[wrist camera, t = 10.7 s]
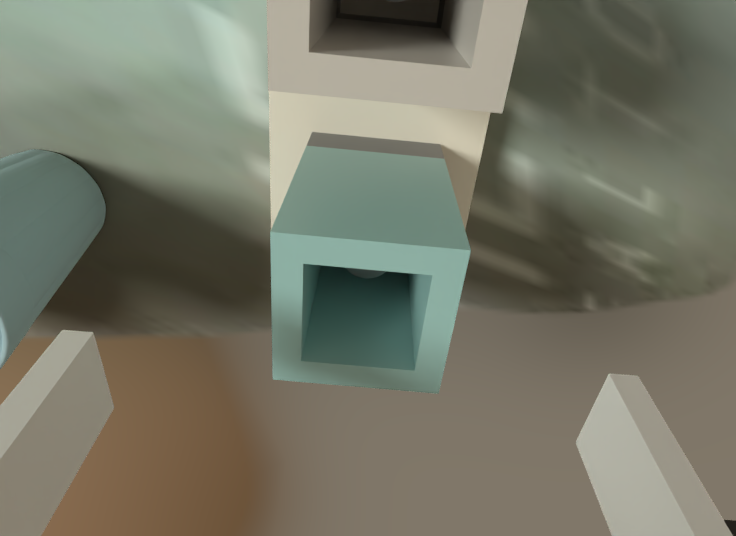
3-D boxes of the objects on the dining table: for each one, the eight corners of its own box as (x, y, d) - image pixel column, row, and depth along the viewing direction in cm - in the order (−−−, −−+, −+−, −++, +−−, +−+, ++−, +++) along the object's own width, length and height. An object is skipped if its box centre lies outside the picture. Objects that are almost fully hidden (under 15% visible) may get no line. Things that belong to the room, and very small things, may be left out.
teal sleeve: (312, 131, 23) (270, 232, 15) (440, 144, 24) (471, 250, 15) (308, 243, 27) (272, 379, 18) (421, 254, 27) (438, 393, 18)
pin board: (272, -161, 19) (215, -219, 13) (533, -133, 19) (606, -176, 13) (276, 234, 28) (244, 316, 22) (454, 250, 28) (474, 336, 22)
